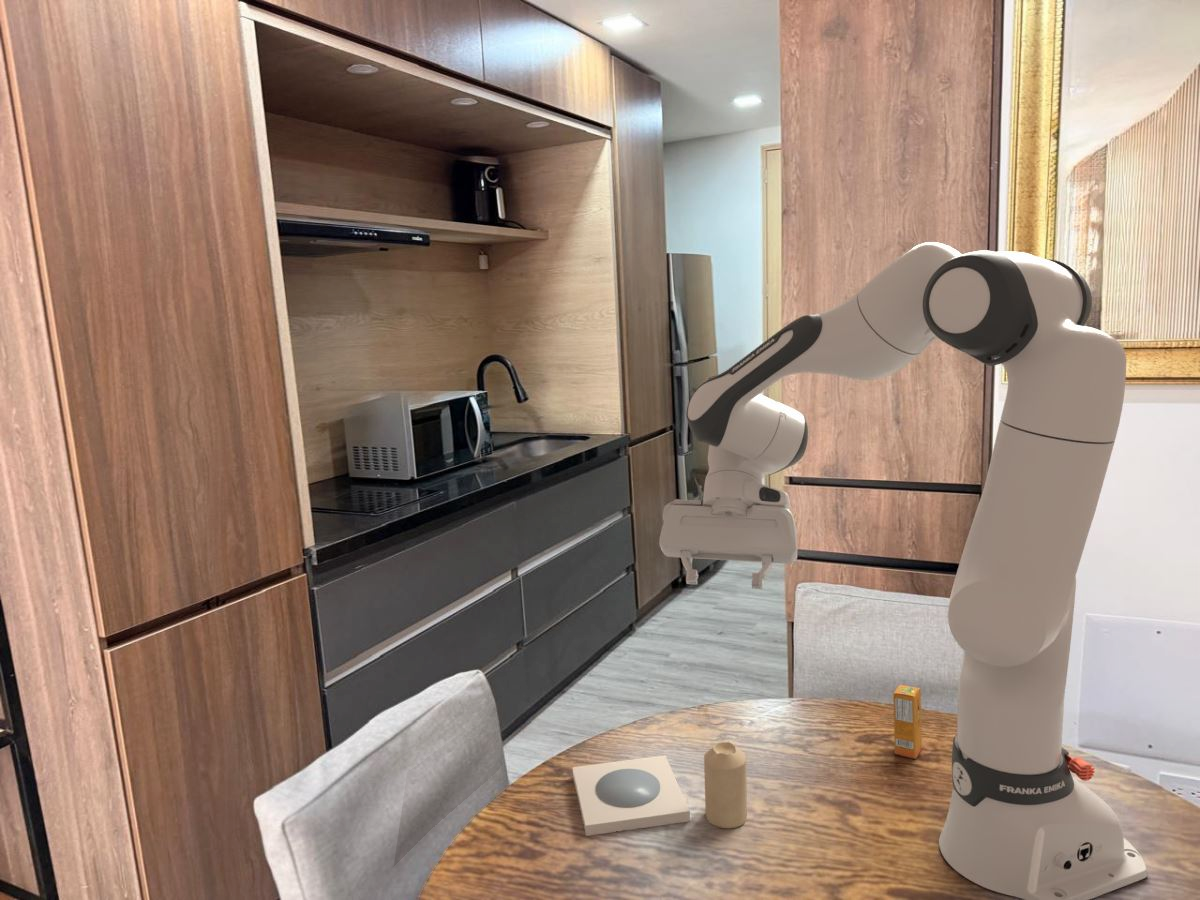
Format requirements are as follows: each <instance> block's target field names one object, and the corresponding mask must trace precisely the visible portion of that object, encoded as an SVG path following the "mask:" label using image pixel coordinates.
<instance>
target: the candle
mask: <svg viewBox="0 0 1200 900" xmlns="http://www.w3.org/2000/svg"><path fill="white" fill-rule="evenodd" d="M746 756H747V755H746V754H745V753H744V752H743V751H742V750H741V749H740V748H738V747H736V745H734V744H733V743H732V742H729V741H724V742H723V741H721V742H718V743H717V744H715V745H714V746H712V747H711V748H710V749H708V750H707V751H706V752H705V753H704V756H703V757H704V758H703V761H704V762H703V763H704V764H703V766H704V768H703V769H704V799H705V800H704V802H705V803H704V804H705V807H704V808H705V816H706V819H707V821H708V822H709V823H710V824H711V825H712V826H715V827H717V828H721V829H736V828H739V827H741V826H742V825H744V824H745V823H746V821H747V818H748V790H747V788H748V786H747V785H748V781H747V757H746Z"/></svg>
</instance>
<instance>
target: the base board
mask: <svg viewBox="0 0 1200 900" xmlns="http://www.w3.org/2000/svg"><path fill="white" fill-rule="evenodd" d="M572 779H573V783H574V788H575V791H576V796H577V801H578V806H579V810H580V815H581V819H582V824H584V825H583V827H584V833H585V837H589V836H595V835H596V836H597V835H603V834H608V833H609V834H610V833H617V832H616V831H618V832H623V830H625V831H631V830H638V828H639V829H644V828H652V827H660V826H666V825H672V824H680V823H681V824H682V823H688V822H691V811H690V808H689V806H688V804H687V801H686V799H685V797H684V795H683V793H682V790H681V788H680V786H679V783H678V782H677V779H676V776H675V774H674V772H673V769H672V767H671V765H670V762H669V761H668V758H667V756H666V754H664V755H658V756H650V757H648V756H647V757H643V758H634V759H627V760H618V761H610V762H604V763H603V762H602V763H594V764H589V765H579V766H573V767H572Z"/></svg>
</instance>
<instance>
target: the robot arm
mask: <svg viewBox="0 0 1200 900" xmlns="http://www.w3.org/2000/svg"><path fill="white" fill-rule="evenodd" d="M1092 304H1093V296H1092V292H1091V288H1090V286H1089V284H1088V283H1087V280H1086V278H1084V276H1082V274H1080V273H1079V272H1078V271H1077V269H1075V268H1073V267H1072V266H1070V265H1069V264H1066V263H1064V262H1062V261H1058V260H1056V259H1050V258H1049V259H1047V258H1041V257H1038V256H1035V255H1033V254H1030V253H1026V252H1020V251H1019V252H1018V251H993V250H977V251H970V252H967V253H963V254H962V253H960V252H959V251H958V250H956V249H955V248H953V247H951V246H950V245H946V244H944V243H940V242H936V241H935V242H934V241H933V242H932V241H931V242H930V241H929V242H923V243H921V244H918V245H916V246H914V247H913V248H911V249H910V250H908V251H907V252H905V253H904V254H902V255H900V256H899V257H898V258H896V259H895V260H893V261H892V262H891V263H890V264H888V265H887V266H886V267H884V268H883V269H882V270H880V272H879V273H877V274H876V275H875V276H874V277H872V278H871V279H870V280H869V281H868V282H867V283H866V284H865V285H864V286H863V287H862V288H861V289H860V290H859V291H858V292H857V293H856V294H855V295H853V296H852V297H850V298H849V299H847V300H846V301H844V302H843V303H841V304H838V305H837V306H835V307H833V308H831V309H828V310H826V311H822V312H819V313H816V314H808V315H807V314H806V315H803V316H800V317H798V318H797V319H795V320H793V321H792V322H790V323H788V324H787V325H786V326H784V327H782V328H781V329H780V330H778V331H777V332H775V333H774V334H773V335H771V336H770V337H768V338H767V340H765V341H764V342H762V343H761V344H760V345H759V346H757V347H756V348H754V349H753V350H751V352H749V353H748V354H747V355H746V356H743V357H742V358H741V359H740V360H739V361H738V362H735V363H734V364H733V365H731V367H729V368H728V369H726V370H725V371H723V372H721V373H719V374H718V375H715V376H712V377H711V378H709V379H708V380H705V382H703V383H702V384H700V385H699V386H698V387H697V389H696V390H695V391H694V393H693V394H692V396H691V397H690V399H689V401H688V404H687V407H686V408H687V409H686V420H687V423H688V426H689V429H690V430H691V433H692V434H693V436H694V438H695V440H696V441H697V442H700V443H704V444H706V445H708V454H707V465H708V471H707V474H706V476H705V479H704V486H703V495H702V499H680V498H677V499H676V498H675V499H673V501H671V502H668V503H667V504H666V505H664V507H663V511H662V518H661V519H662V522H663V524H662V525H661V526H662V527H661V530H660V534H659V535H660V536H659V541H658V543H659V548H660V549H661V551H662V553H663V554H664V556H665V557H667V558H680V559H681V563H682V565H683V567H684V568H685V570H686V574H685V582H686V585H695V586H696V585H698V579H699V573H698V569H694V568H692V567H691V565H692V564H693V559H702V560H716V561H717V560H719V561H734V562H735V561H737V562H750V563H751V562H753V563H761V569H759V572H758V573H757V572H753V573H752V575H751V577H752V580H751V589H755V590H756V589H757V590H763V589H764V588H763V587H764V579H766V577H767V576H768V575H769V573H770V572H771V571H772V569H773V564H785V565H791V564H793V563H794V562H795V561H796V560H797V559H798V539H797V538H798V536H797V528H796V522H795V521H796V519H795V517H794V515H793V513H792V511H791V510H792V509H791V508H792V507H791V505H792V504H791V500H790V496H789V493H787V492H786V491H783V490H782V489H781V490H780V489H777V488H774V487H771V486H768V485H765V484H763V482H762V481H763V478H764V477H765V476H766V475H768V476H769V475H774V474H777V473H779V472H781V471H783V470H785V469H788V468H790V467H792V466H794V465H795V464H796V463H798V462H799V461H800V460H801V459H802V458H803V456H804V454H806V450H807V447H808V441H809V427H808V423H807V420H806V417H805V415H804V414H803V413H802V412H801V411H800V412H799V411H798V410H797V409H794V408H792V406H791V407H790V406H788V405H786V404H783V403H782V402H779V401H777V400H776V399H772V398H770V397H768V396H766V395H764V394H762V393H763V392H764V391H766V390H767V389H769V388H770V387H772V386H773V385H775V384H776V383H777V382H779V381H781V380H782V379H784V378H786V377H788V376H791V375H795V374H802V373H804V374H805V373H809V374H810V373H811V374H822V375H831V376H837V377H842V378H847V379H851V380H852V379H853V380H859V381H860V380H861V381H871V380H872V381H874V380H881V379H885V378H887V377H889V376H891V375H894V374H895V373H897V372H899V371H901V370H902V369H903V368H905V367H907V366H908V365H909V364H910V363H912V362H913V361H914V360H915V359H916V358H918V356H920V355H921V354H922V353H923V352H925V351H926V350H927V349H928V348H929V347H930V346H931V345H932V344H934V343H935V342H936V341H937V340H938V339H939V340H940V341H942V342H944V343H945V344H947V345H948V346H950V347H951V348H955V349H956V350H958V351H960V352H962V353H964V354H966V355H968V356H970V357H972V358H974V359H975V360H977V361H978V362H981V363H982V364H985V365H986V366H989V367H994V366H998V365H1001V366H1003V368H1004V370H1005V373H1006V375H1007V389H1006V394H1005V395H1006V396H1005V400H1004V405H1003V408H1002V410H1001V412H1002V413H1001V416H1000V419H999V423H998V428H997V431H996V432H997V433H996V437H995V442H994V445H993V450H992V453H991V458H990V461H989V462H990V463H989V466H988V471H987V474H986V479H985V482H984V486H983V489H982V494H981V495H980V499H979V502H978V504H977V508H976V511H975V514H974V517H973V520H972V522H971V526H970V529H969V532H968V535H967V537H966V541H965V544H964V548H963V550H962V554H961V558H960V560H959V564H958V568H957V570H956V574H955V579H954V581H953V585H952V588H951V593H950V596H949V602H948V608H947V622H948V626H949V627H948V628H949V629H950V632H951V635H952V636H953V638H954V640H955V642H956V643H957V645H958V646H959V647H960V648H961V649H962V650H963V656H962V661H961V667H960V671H959V677H958V689H957V690H958V691H957V718H956V719H957V723H956V724H957V725H956V734H955V736H954V737H953V740H952V753H951V754H952V755H951V780H952V792H951V798H950V804H949V807H948V808H949V809H948V812H947V816H946V819H945V823H944V825H943V828H942V830H941V833H940V836H939V839H938V845H939V850H940V852H941V854H942V856H943V858H944V860H945V861H946V862H947V863H948V864H949V865H950V866H951V867H952V868H953V869H954V871H956V872H957V873H959V874H960V875H961V876H963V877H964V878H966V879H968V881H971V882H972V883H975V884H976V885H978V886H981V887H982V888H984V889H988V890H991V891H994V892H996V893H999V894H1002V895H1007V896H1011V897H1016V898H1020V899H1023V900H1091V899H1095V898H1097V897H1100V896H1102V895H1105V894H1108V893H1110V892H1112V891H1115V890H1118V889H1120V888H1123V887H1126V886H1129V885H1131V884H1134V883H1136V882H1138V881H1141V880H1144V879H1146V878H1147V876H1148V869H1147V865H1146V863H1145V861H1144V858H1143V857H1142V856H1141V854H1140V853H1139V851H1138V850H1137V849H1136V847H1134V846H1133V845H1132V844H1131V842H1129V841H1128V840H1127V838H1125V836H1124V832H1123V828H1122V824H1121V822H1120V820H1119V817H1118V815H1116V813H1115V812H1114V810H1113V808H1111V807H1110V806H1109V805H1108V803H1107V802H1105V800H1103V799H1102V797H1100V796H1099V795H1097V794H1096V793H1094V792H1093V790H1091V789H1089V788H1088V787H1087V786H1086V785H1084V784H1082V783H1081V782H1080V781H1079V780H1077V779H1076V778H1074V777H1073V775H1072V773H1073V774H1074V775H1076V776H1077V778H1079V779H1080V780H1081V781H1084V782H1085V781H1089V780H1091V779H1092V777H1094V775H1095V774H1094V773H1095V767H1094V766H1093V765H1092V764H1090V763H1088V762H1087V761H1085V760H1084V759H1083V758H1082V757H1079V756H1075V757H1072V756H1071V755H1070V753H1069V751H1068V750H1067V749H1065V748H1064V747H1063V746H1062V745H1063V733H1064V732H1063V730H1064V713H1065V712H1064V710H1065V695H1066V686H1067V678H1068V670H1069V669H1068V668H1069V662H1070V652H1071V643H1072V641H1071V640H1072V633H1073V632H1072V631H1073V622H1074V614H1075V613H1074V611H1075V601H1076V600H1075V599H1076V589H1077V577H1076V575H1077V572H1078V569H1079V566H1080V562H1081V559H1082V555H1083V553H1084V550H1085V545H1086V543H1087V540H1088V536H1089V533H1090V530H1091V526H1092V523H1093V519H1094V516H1095V514H1096V510H1097V507H1098V502H1099V501H1100V497H1101V496H1100V495H1101V492H1102V488H1103V486H1104V481H1105V478H1106V476H1107V475H1106V474H1107V471H1108V467H1109V463H1110V459H1111V457H1112V452H1113V449H1114V446H1115V442H1116V441H1115V440H1116V439H1117V434H1118V430H1119V425H1120V422H1121V416H1122V411H1123V404H1124V398H1125V392H1126V391H1125V390H1126V389H1125V388H1126V378H1127V355H1126V351H1125V348H1124V347H1123V345H1122V344H1121V343H1120V342H1119V340H1117V339H1116V338H1114V337H1113V336H1112V335H1110V334H1108V333H1107V332H1105V331H1103V330H1100V329H1098V328H1095V327H1091V326H1085V325H1086V324H1087V322H1088V320H1089V318H1090V315H1091V313H1092V306H1093V305H1092Z"/></svg>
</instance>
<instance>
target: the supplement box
mask: <svg viewBox="0 0 1200 900" xmlns="http://www.w3.org/2000/svg"><path fill="white" fill-rule="evenodd" d="M921 693H922V692H921V688H920V687H915V686H909V685H904V684H903V685H902V684H899V685H898V686H897V688H896V689H895V691H894V692H893V693H892V696H893V697H892V699H893V733H894V734H893V735H894V754H895V755H898V756H901V757H905V758H910V759H915V760H916V759H917V757H918V756H919V754H920V753H921V751H922V744H923V743H922V742H923V741H922V700H921V699H922V696H921V695H922V694H921Z"/></svg>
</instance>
